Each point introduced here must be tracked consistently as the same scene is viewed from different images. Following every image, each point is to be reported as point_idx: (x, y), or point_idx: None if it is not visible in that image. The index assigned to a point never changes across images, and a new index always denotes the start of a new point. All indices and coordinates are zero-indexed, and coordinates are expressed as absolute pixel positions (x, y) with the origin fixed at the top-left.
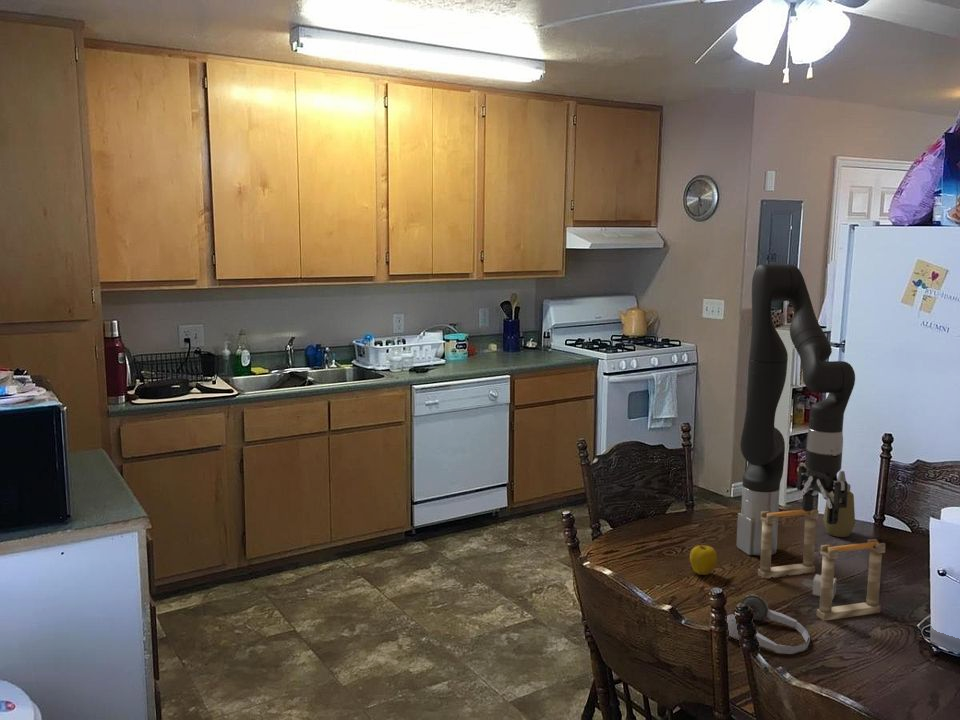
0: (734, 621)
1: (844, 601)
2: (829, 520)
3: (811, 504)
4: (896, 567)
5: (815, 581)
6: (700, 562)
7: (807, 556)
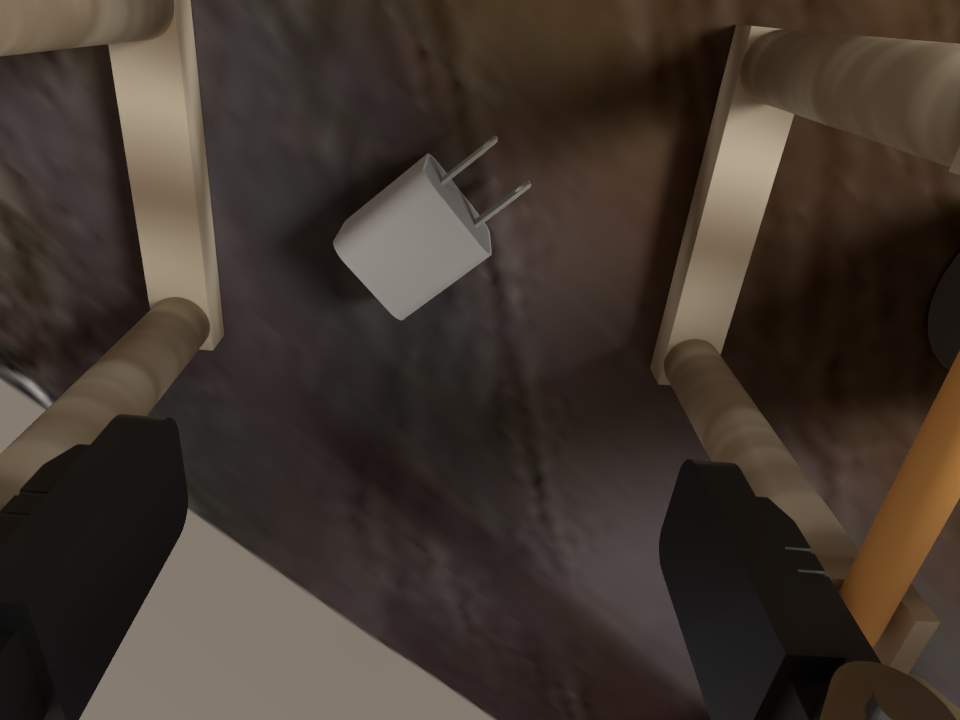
0: None
1: (317, 262)
2: (96, 446)
3: (687, 609)
4: (529, 663)
5: (414, 181)
6: None
7: (695, 373)
